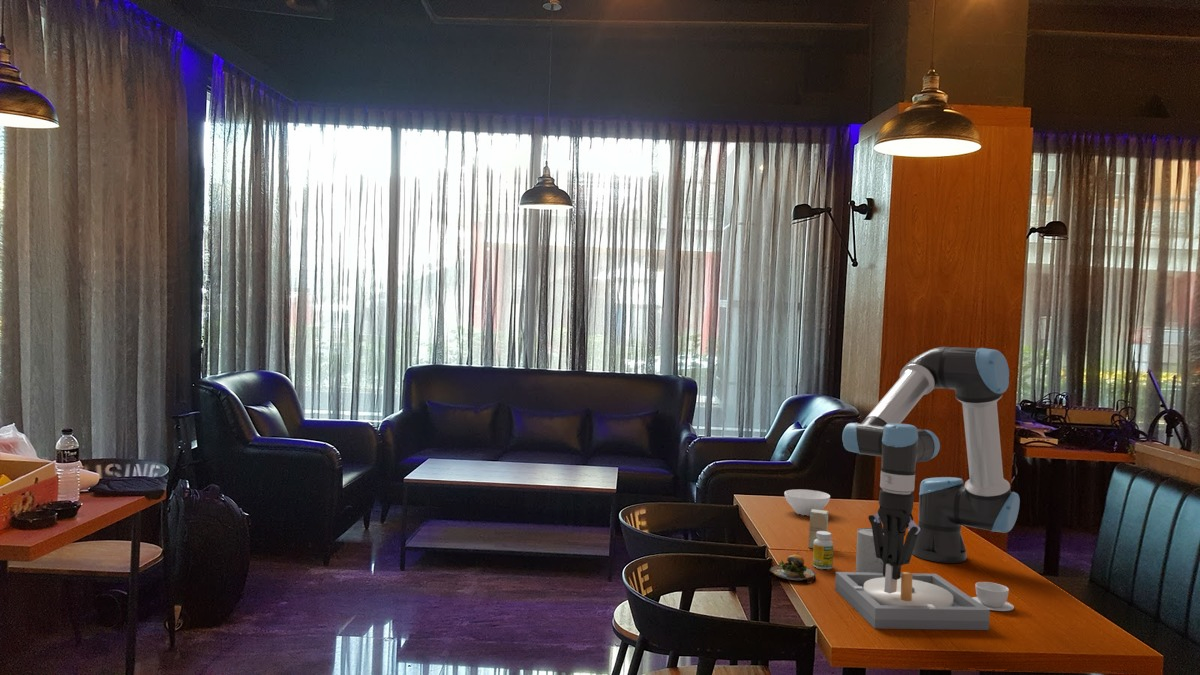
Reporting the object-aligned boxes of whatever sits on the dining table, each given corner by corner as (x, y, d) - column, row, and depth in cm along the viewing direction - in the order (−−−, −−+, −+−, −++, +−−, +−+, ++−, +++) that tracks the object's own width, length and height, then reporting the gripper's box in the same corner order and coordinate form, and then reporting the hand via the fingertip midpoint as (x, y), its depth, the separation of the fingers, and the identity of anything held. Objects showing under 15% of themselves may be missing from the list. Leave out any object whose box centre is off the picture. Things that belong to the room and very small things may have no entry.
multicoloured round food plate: (761, 573, 217) (762, 545, 217) (797, 569, 222) (797, 542, 222) (788, 587, 206) (789, 557, 206) (825, 582, 211) (826, 554, 211)
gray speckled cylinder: (892, 575, 218) (894, 530, 218) (893, 585, 209) (895, 538, 209) (855, 570, 221) (857, 526, 221) (854, 580, 212) (856, 534, 212)
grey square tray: (935, 591, 205) (935, 572, 205) (988, 630, 179) (989, 608, 179) (835, 589, 204) (835, 570, 204) (874, 628, 178) (875, 606, 178)
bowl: (785, 517, 281) (785, 497, 281) (782, 507, 297) (783, 488, 297) (832, 520, 279) (832, 500, 279) (826, 510, 295) (827, 491, 294)
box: (807, 547, 243) (809, 511, 242) (809, 544, 247) (811, 508, 246) (825, 550, 241) (827, 513, 240) (827, 546, 245) (828, 510, 244)
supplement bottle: (821, 563, 227) (822, 529, 227) (836, 568, 223) (838, 533, 222) (808, 565, 224) (809, 531, 224) (823, 571, 220) (824, 536, 219)
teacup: (1012, 616, 190) (1012, 596, 189) (966, 607, 195) (966, 587, 195) (1015, 604, 198) (1016, 585, 198) (971, 595, 203) (972, 577, 203)
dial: (867, 580, 205) (868, 549, 205) (953, 593, 197) (954, 561, 197) (859, 604, 187) (860, 570, 187) (952, 619, 179) (954, 584, 178)
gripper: (863, 486, 189) (856, 585, 190) (912, 497, 179) (905, 603, 179) (882, 484, 194) (876, 581, 194) (931, 495, 183) (925, 597, 184)
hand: (890, 591), depth 187 cm, fingers closed
